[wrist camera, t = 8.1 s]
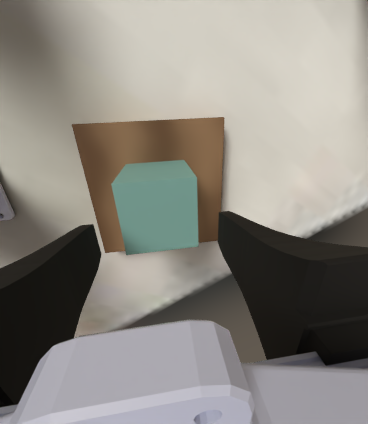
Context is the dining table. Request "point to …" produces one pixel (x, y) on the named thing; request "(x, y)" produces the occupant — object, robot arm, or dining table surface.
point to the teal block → (157, 206)
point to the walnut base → (152, 152)
